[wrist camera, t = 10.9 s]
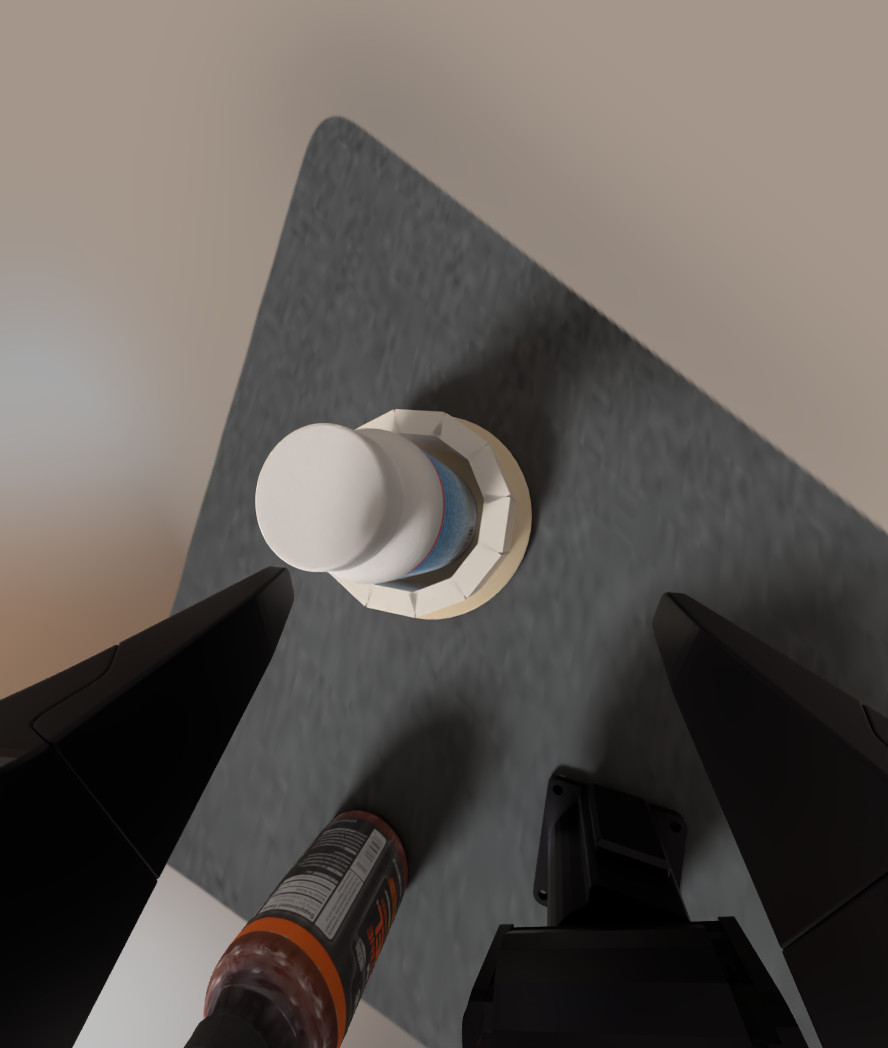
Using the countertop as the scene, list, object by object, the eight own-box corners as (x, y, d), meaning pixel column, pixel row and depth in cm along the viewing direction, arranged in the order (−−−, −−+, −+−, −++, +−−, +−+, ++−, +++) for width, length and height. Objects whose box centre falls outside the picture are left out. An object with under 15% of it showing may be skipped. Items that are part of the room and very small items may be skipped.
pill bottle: (447, 446, 22) (350, 356, 12) (500, 536, 21) (448, 530, 10) (364, 501, 24) (208, 466, 13) (411, 589, 23) (283, 631, 12)
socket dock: (515, 636, 22) (507, 657, 17) (330, 596, 25) (286, 606, 21) (545, 425, 22) (544, 398, 18) (357, 413, 25) (318, 388, 21)
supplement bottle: (406, 924, 22) (270, 1280, 12) (318, 888, 24) (126, 1172, 13) (416, 820, 23) (292, 1077, 12) (328, 792, 24) (147, 994, 13)
